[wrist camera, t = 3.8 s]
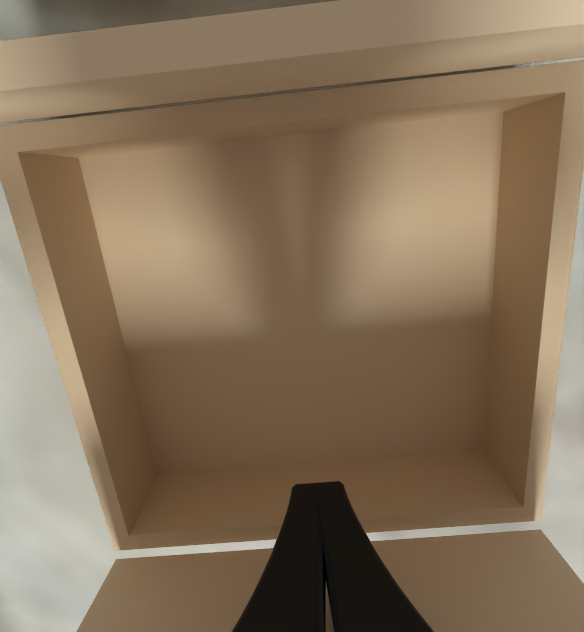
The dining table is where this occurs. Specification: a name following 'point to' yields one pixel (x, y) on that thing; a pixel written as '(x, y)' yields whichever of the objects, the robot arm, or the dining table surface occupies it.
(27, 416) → the dining table surface
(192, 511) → the carton
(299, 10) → the near flap
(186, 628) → the far flap
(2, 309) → the dining table surface
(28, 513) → the dining table surface
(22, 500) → the dining table surface
